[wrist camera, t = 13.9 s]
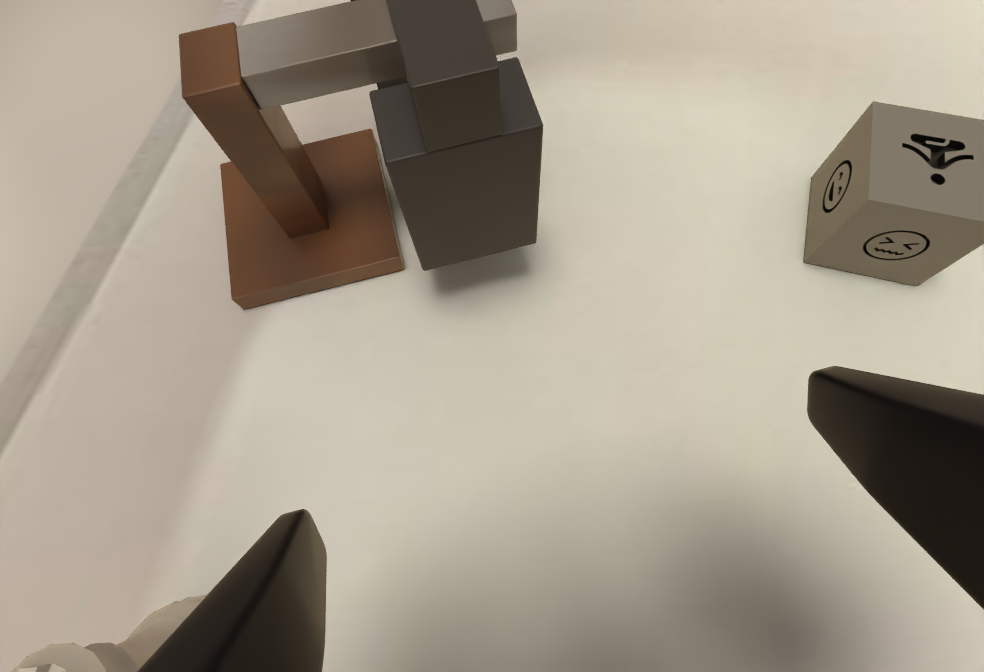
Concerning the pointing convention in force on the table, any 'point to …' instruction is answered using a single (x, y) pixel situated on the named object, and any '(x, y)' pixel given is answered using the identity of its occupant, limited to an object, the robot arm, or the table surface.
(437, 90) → the dark blocky bridge
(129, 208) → the table surface
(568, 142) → the table surface
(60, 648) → the rook chess piece
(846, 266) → the dice cube
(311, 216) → the hanger
